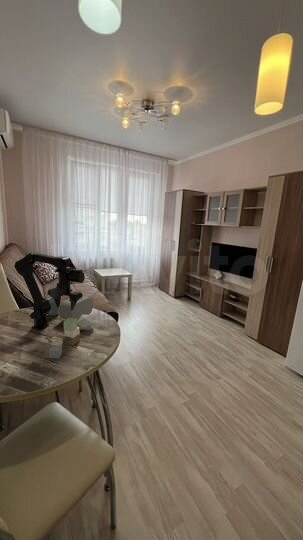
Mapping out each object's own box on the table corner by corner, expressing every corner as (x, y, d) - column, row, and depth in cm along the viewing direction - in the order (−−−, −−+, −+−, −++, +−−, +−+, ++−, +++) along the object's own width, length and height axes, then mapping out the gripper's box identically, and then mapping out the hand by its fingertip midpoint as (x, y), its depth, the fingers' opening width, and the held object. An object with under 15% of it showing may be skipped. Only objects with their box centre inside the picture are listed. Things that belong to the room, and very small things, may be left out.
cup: (43, 315, 140) (43, 300, 138) (53, 311, 147) (52, 297, 145) (53, 318, 137) (52, 302, 135) (62, 313, 144) (62, 299, 142)
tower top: (64, 335, 110) (64, 329, 109) (71, 331, 114) (71, 325, 113) (72, 338, 108) (72, 331, 107) (79, 333, 113) (79, 327, 112)
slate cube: (49, 358, 98) (49, 350, 97) (53, 353, 102) (53, 345, 101) (58, 358, 98) (58, 350, 97) (62, 353, 102) (62, 345, 101)
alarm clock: (81, 310, 151) (81, 292, 148) (93, 313, 148) (93, 294, 145) (58, 322, 132) (58, 301, 129) (71, 325, 129) (71, 304, 126)
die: (84, 335, 120) (95, 319, 121) (71, 325, 120) (82, 310, 122) (88, 333, 128) (99, 318, 130) (76, 324, 129) (86, 310, 130)
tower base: (62, 343, 110) (62, 336, 109) (70, 337, 116) (70, 330, 115) (72, 346, 108) (72, 338, 107) (80, 340, 114) (80, 333, 113)
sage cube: (63, 329, 109) (63, 320, 108) (69, 325, 113) (69, 317, 112) (71, 331, 107) (71, 322, 106) (77, 327, 112) (77, 319, 111)
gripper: (38, 281, 112) (39, 310, 115) (68, 287, 106) (69, 317, 109) (54, 277, 122) (55, 304, 125) (83, 282, 116) (83, 310, 119)
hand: (65, 308), depth 119 cm, fingers open, 9 cm apart
